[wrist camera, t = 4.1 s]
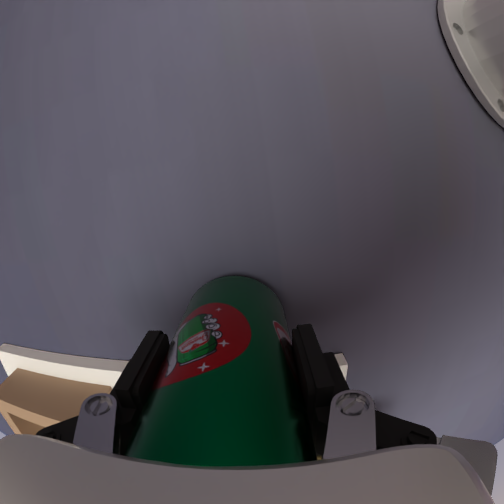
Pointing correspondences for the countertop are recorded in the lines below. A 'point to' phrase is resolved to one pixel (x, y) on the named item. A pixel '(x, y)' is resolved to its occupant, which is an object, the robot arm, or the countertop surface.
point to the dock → (57, 385)
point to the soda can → (227, 385)
